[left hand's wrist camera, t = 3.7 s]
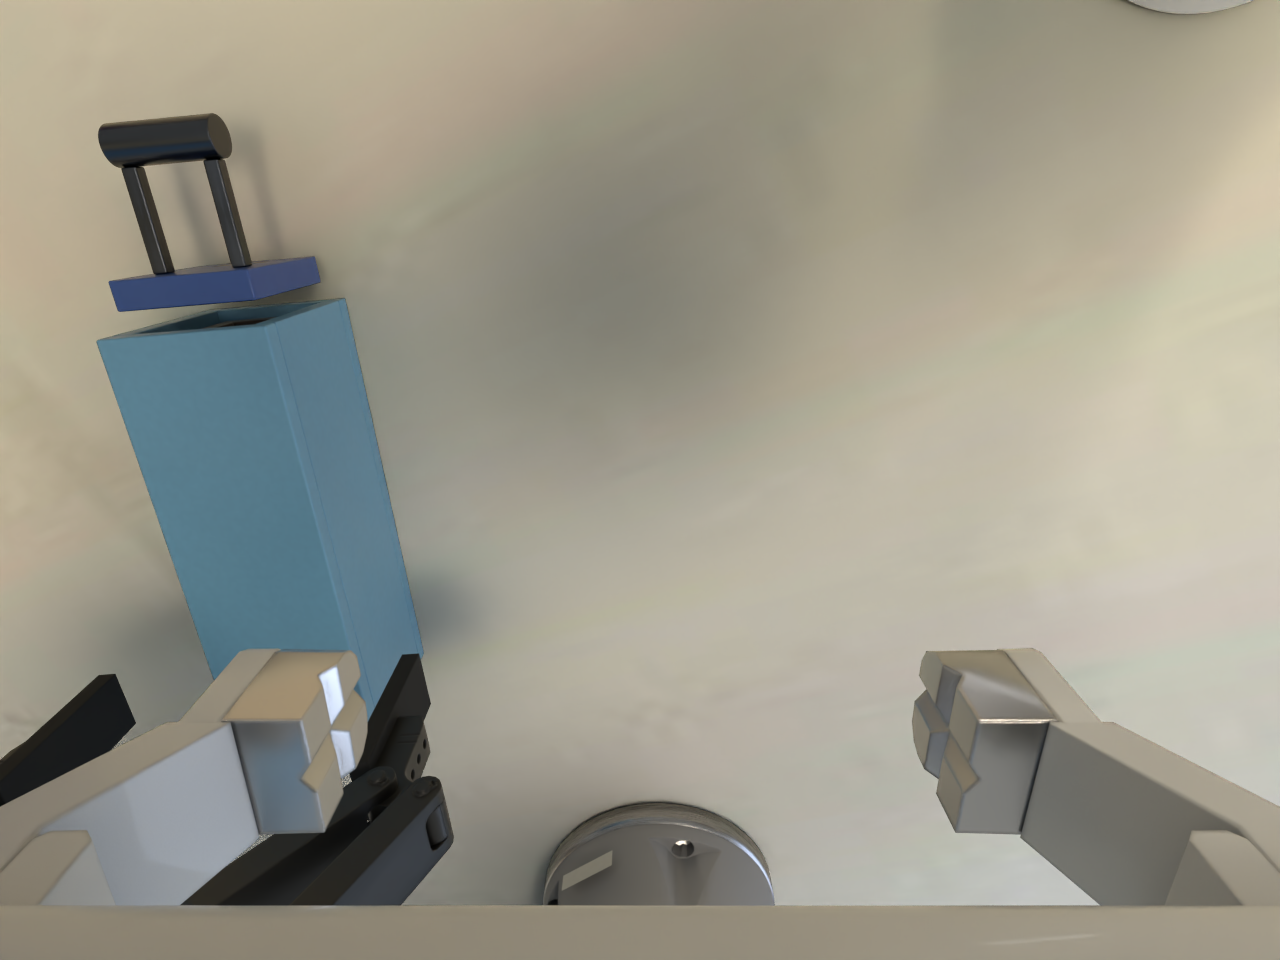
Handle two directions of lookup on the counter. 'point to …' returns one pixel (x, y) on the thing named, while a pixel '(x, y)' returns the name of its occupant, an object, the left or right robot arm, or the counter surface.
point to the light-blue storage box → (269, 483)
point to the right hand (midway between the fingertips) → (266, 688)
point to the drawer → (242, 277)
